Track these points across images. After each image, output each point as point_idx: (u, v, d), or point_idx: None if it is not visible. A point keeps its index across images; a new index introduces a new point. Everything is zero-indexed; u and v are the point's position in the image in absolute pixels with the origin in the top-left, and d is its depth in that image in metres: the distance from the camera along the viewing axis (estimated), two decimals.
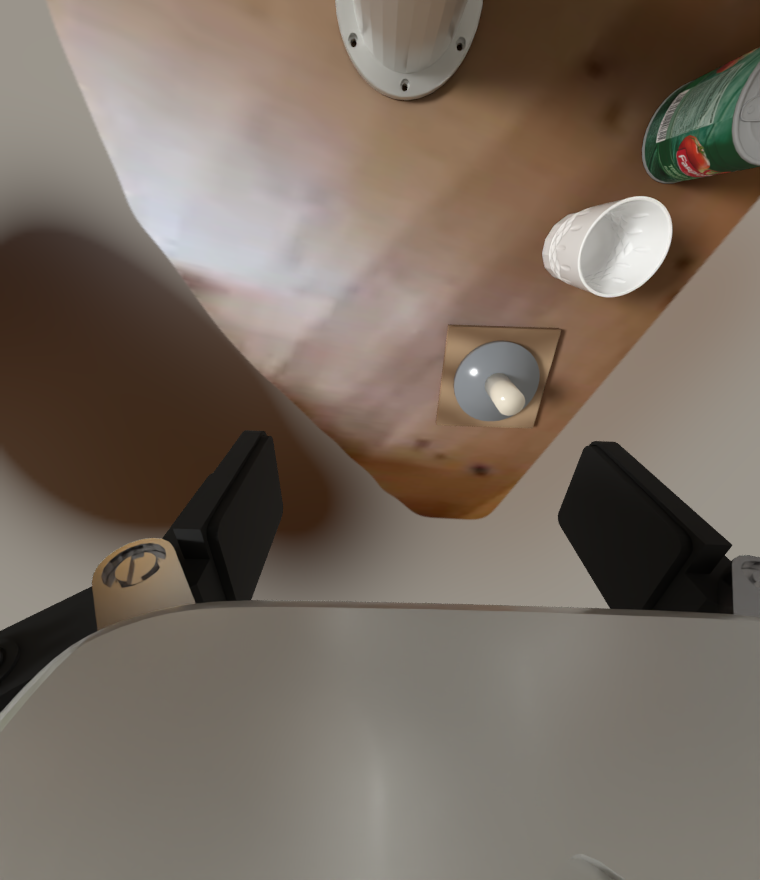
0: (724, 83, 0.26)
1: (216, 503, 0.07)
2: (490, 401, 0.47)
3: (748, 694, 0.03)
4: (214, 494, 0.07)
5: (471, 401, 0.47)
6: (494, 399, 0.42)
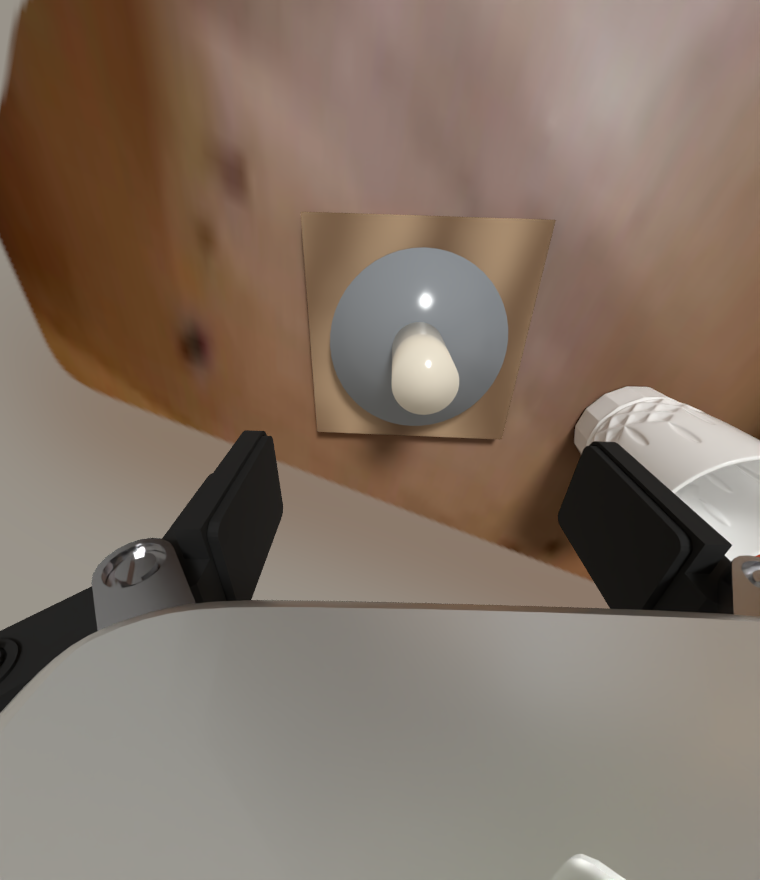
0: None
1: (217, 503, 0.07)
2: (378, 341, 0.21)
3: (748, 694, 0.03)
4: (214, 494, 0.07)
5: (378, 297, 0.20)
6: (423, 343, 0.17)
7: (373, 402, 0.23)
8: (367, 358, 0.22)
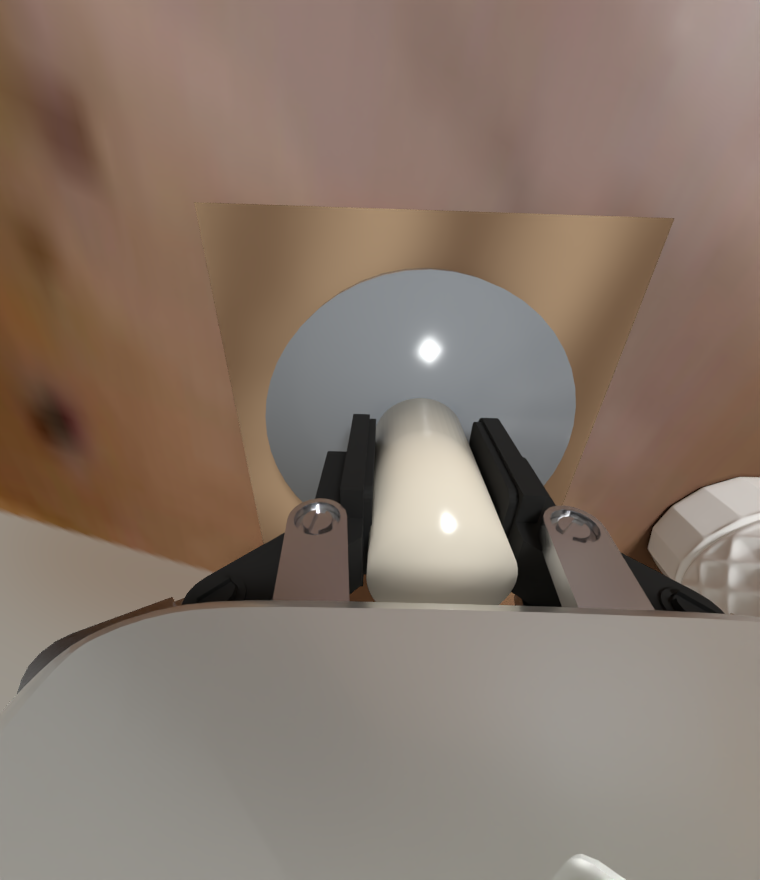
0: None
1: (364, 470, 0.08)
2: (350, 428, 0.12)
3: (748, 694, 0.03)
4: (358, 464, 0.08)
5: (347, 359, 0.11)
6: (435, 483, 0.08)
7: None
8: None
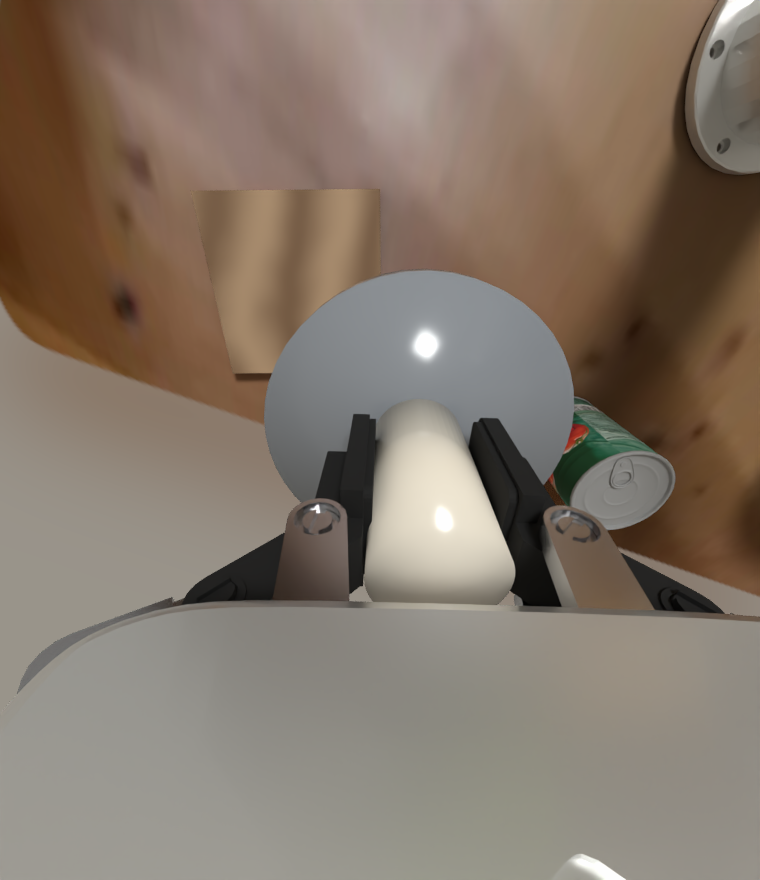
0: (633, 437, 0.28)
1: (364, 470, 0.08)
2: (349, 429, 0.12)
3: (748, 694, 0.03)
4: (358, 464, 0.08)
5: (345, 360, 0.11)
6: (433, 484, 0.08)
7: None
8: None
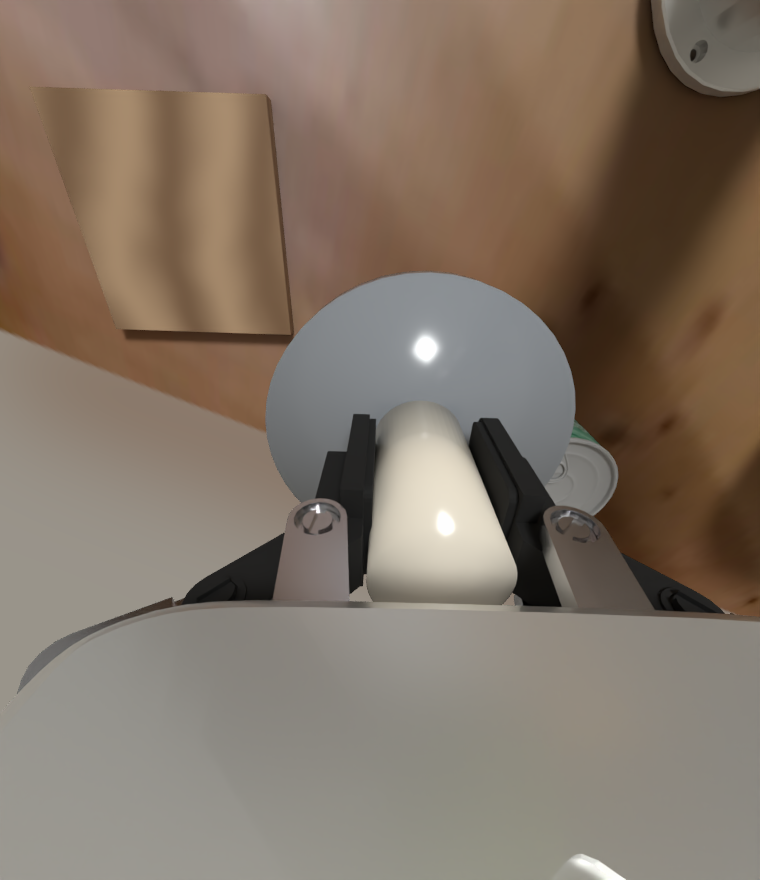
0: None
1: (365, 470, 0.08)
2: None
3: (748, 694, 0.03)
4: (358, 464, 0.08)
5: (347, 362, 0.11)
6: (435, 487, 0.08)
7: None
8: None
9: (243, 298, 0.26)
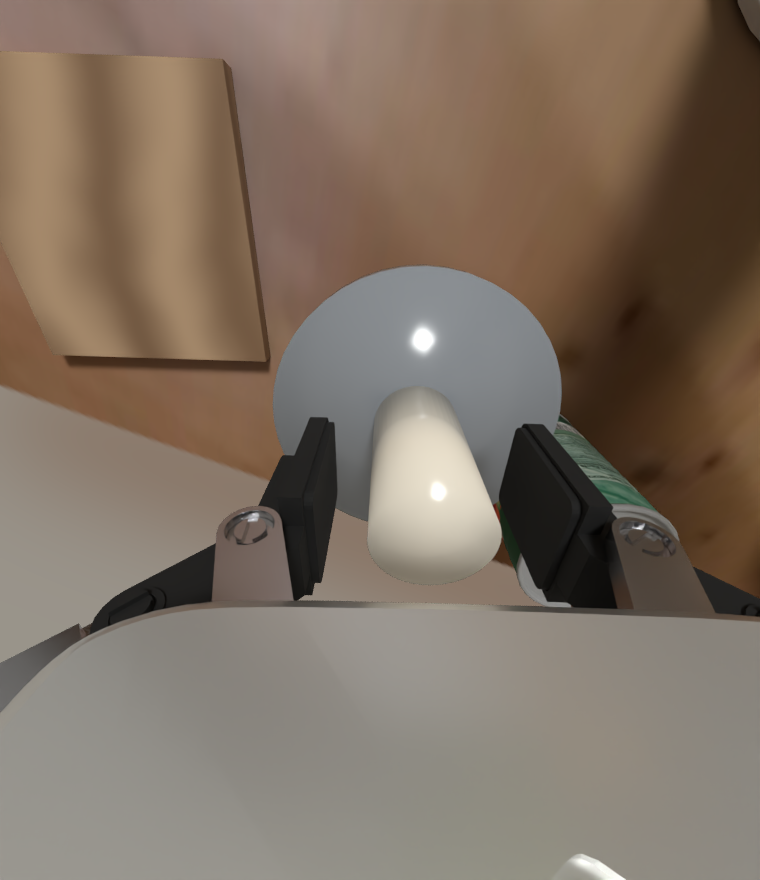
0: (617, 477, 0.18)
1: (307, 477, 0.08)
2: (351, 415, 0.13)
3: (748, 694, 0.03)
4: (303, 469, 0.08)
5: (348, 349, 0.12)
6: (428, 457, 0.09)
7: (348, 498, 0.15)
8: (335, 439, 0.14)
9: (206, 318, 0.21)
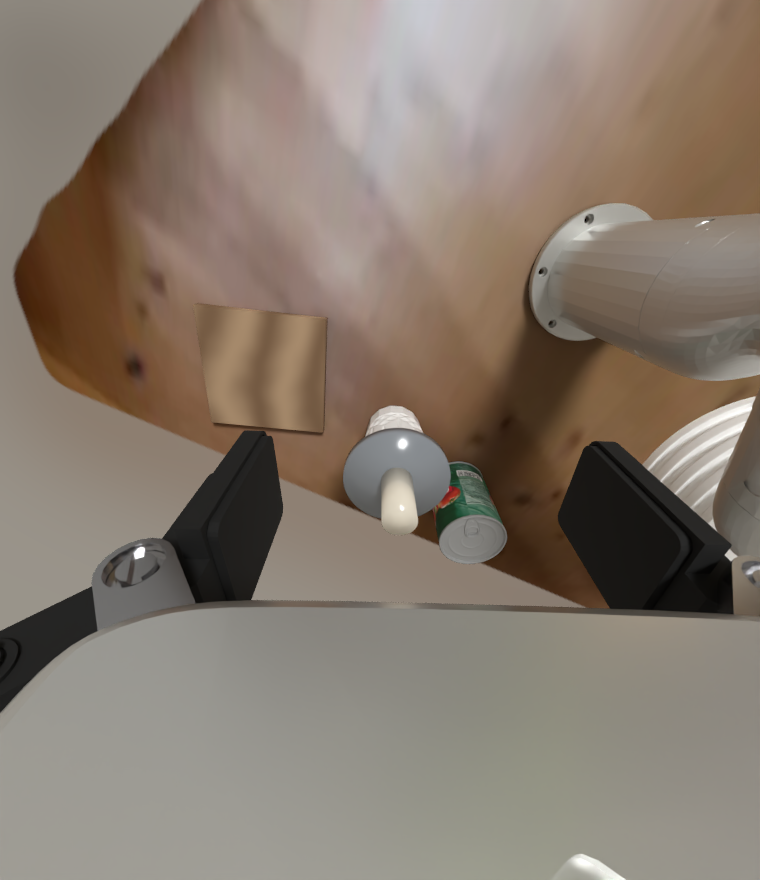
0: (486, 503, 0.41)
1: (216, 503, 0.07)
2: (373, 475, 0.35)
3: (748, 694, 0.03)
4: (214, 494, 0.07)
5: (374, 455, 0.34)
6: (399, 498, 0.30)
7: (367, 506, 0.37)
8: (365, 484, 0.35)
9: (296, 411, 0.43)
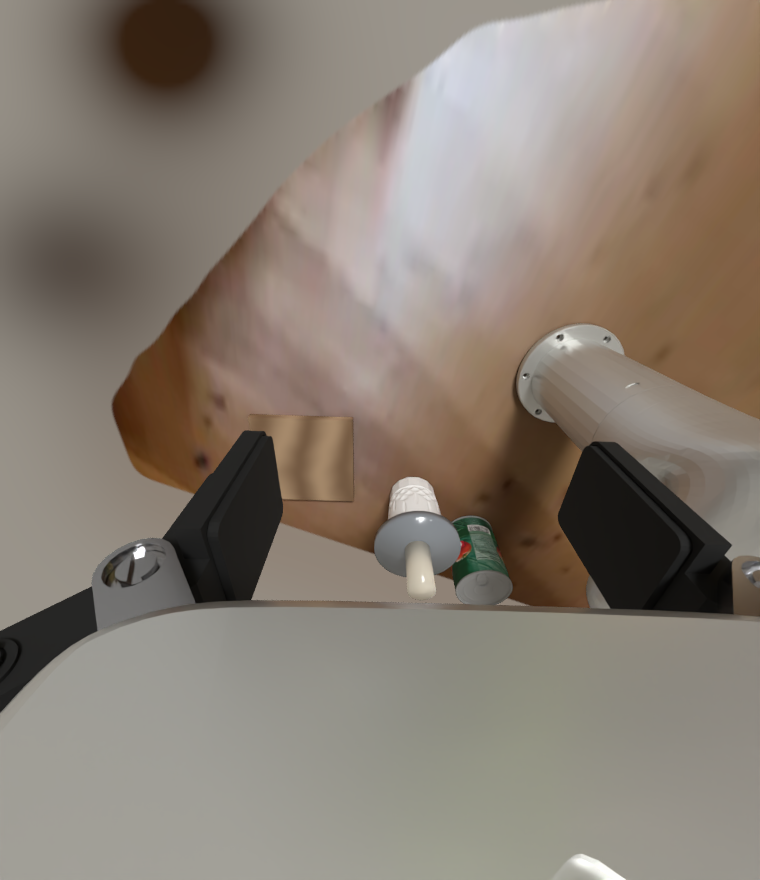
0: (493, 557, 0.49)
1: (217, 503, 0.07)
2: (398, 547, 0.44)
3: (748, 694, 0.03)
4: (214, 494, 0.07)
5: (398, 533, 0.42)
6: (420, 572, 0.39)
7: (395, 569, 0.46)
8: (392, 553, 0.44)
9: (331, 487, 0.52)
